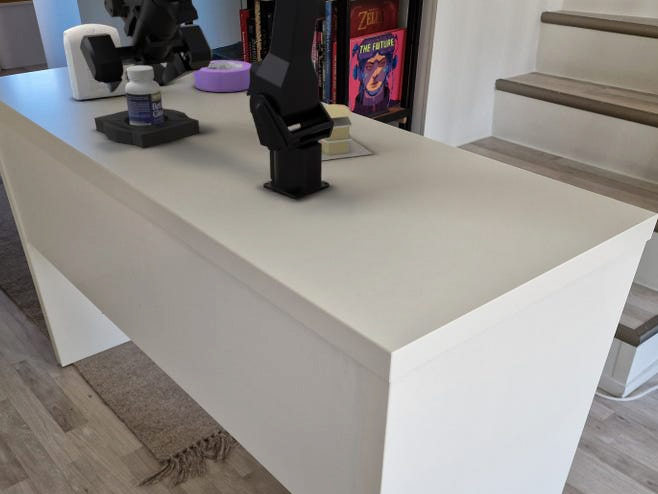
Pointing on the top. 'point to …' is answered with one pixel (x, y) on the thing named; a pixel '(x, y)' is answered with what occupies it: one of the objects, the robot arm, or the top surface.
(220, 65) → the tape roll
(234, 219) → the top surface
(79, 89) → the white upright block
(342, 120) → the stacked layers on plate
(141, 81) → the pill bottle
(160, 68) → the gaming mouse
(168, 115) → the pad
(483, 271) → the top surface
